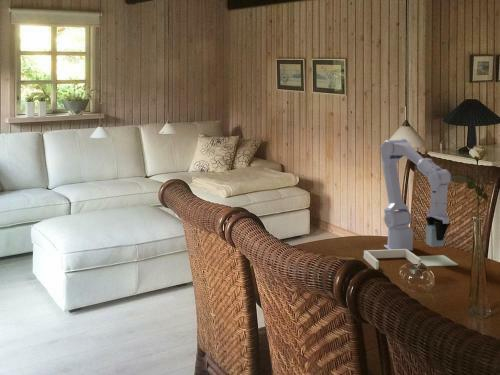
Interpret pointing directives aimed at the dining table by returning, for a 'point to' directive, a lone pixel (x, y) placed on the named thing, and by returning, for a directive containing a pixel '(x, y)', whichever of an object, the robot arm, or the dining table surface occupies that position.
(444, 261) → the mat
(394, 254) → the grey u-shaped bracket
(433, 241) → the block
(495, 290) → the dining table surface
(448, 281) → the dining table surface
